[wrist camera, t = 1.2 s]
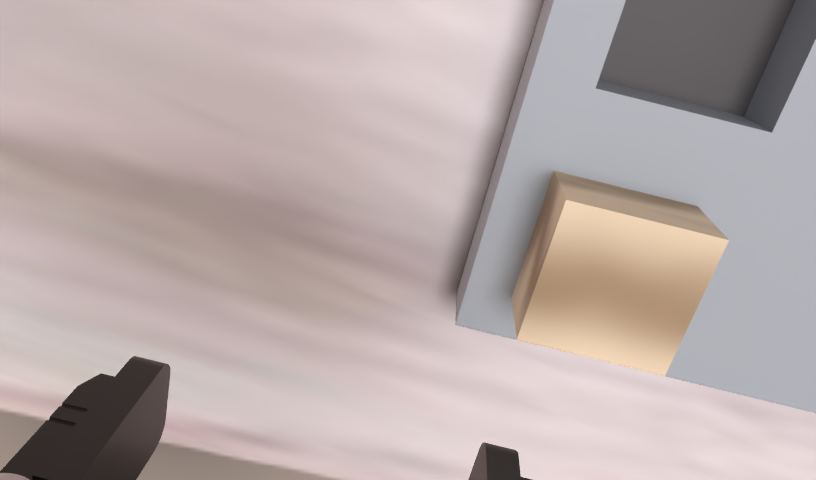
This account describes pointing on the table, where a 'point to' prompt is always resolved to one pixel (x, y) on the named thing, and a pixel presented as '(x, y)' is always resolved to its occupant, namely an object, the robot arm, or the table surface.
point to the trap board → (675, 167)
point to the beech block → (614, 273)
